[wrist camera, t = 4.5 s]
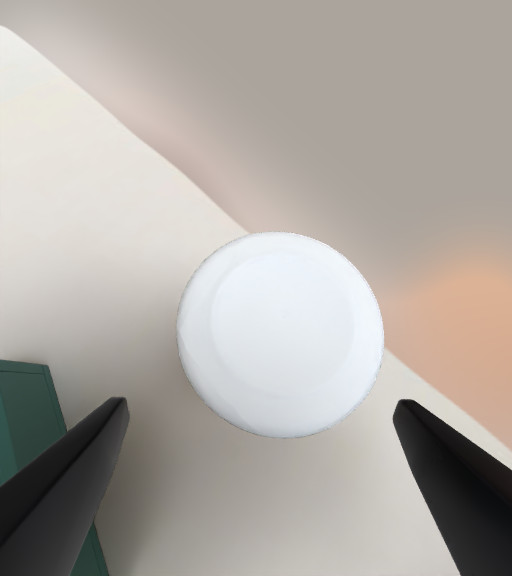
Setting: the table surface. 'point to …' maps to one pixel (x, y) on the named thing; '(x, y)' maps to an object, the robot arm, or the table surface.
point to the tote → (36, 437)
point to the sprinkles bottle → (280, 334)
